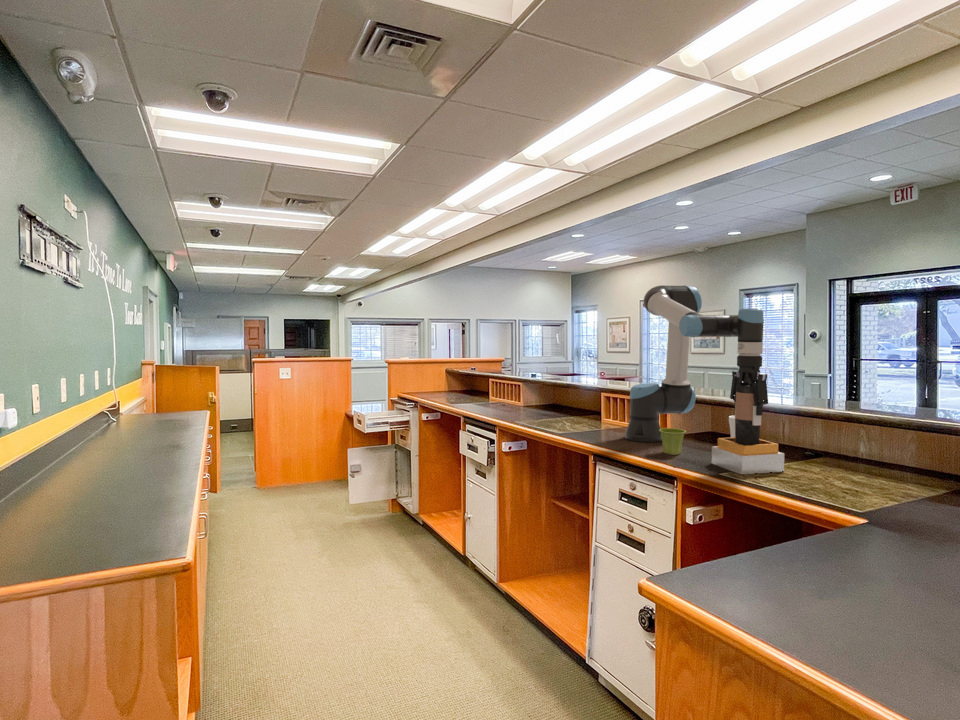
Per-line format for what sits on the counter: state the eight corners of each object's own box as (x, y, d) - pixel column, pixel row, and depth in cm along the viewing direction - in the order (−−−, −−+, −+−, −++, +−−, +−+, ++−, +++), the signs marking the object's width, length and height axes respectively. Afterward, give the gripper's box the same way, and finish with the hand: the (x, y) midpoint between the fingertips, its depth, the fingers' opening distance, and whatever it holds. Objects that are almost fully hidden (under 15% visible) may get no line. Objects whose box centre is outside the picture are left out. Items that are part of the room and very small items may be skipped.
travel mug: (762, 447, 179) (764, 386, 178) (737, 446, 181) (739, 385, 180) (756, 442, 187) (757, 384, 186) (731, 441, 188) (733, 383, 187)
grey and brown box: (711, 463, 189) (712, 437, 189) (762, 460, 194) (763, 435, 194) (741, 474, 175) (742, 446, 174) (796, 470, 180) (797, 443, 179)
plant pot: (689, 456, 201) (689, 432, 200) (663, 456, 201) (663, 432, 200) (680, 450, 210) (680, 428, 210) (655, 450, 210) (656, 428, 210)
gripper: (719, 353, 191) (717, 418, 192) (762, 356, 171) (760, 429, 172) (737, 353, 193) (736, 417, 194) (782, 356, 173) (780, 427, 174)
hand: (747, 423), depth 183 cm, fingers closed on travel mug, 8 cm apart
